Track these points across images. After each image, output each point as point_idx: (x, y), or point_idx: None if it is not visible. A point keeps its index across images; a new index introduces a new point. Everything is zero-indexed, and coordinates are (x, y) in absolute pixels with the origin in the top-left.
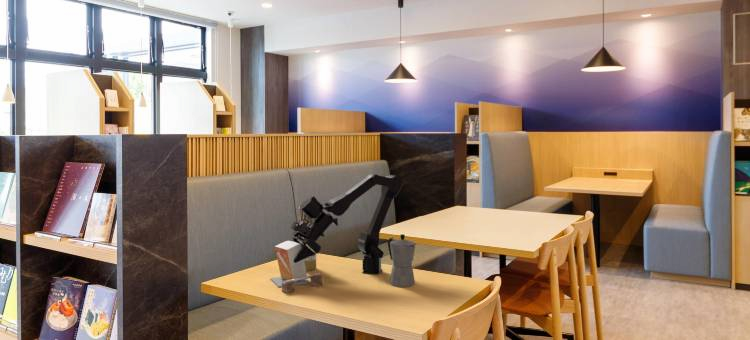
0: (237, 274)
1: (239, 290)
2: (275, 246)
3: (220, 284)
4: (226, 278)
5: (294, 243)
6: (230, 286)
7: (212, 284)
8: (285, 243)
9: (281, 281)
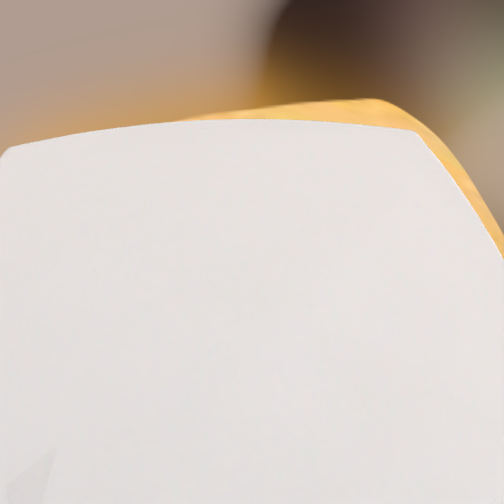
0: (494, 231)
1: (253, 116)
2: (392, 128)
3: (380, 117)
4: (453, 170)
5: (18, 476)
6: (334, 121)
7: (391, 105)
8: (396, 302)
9: None
